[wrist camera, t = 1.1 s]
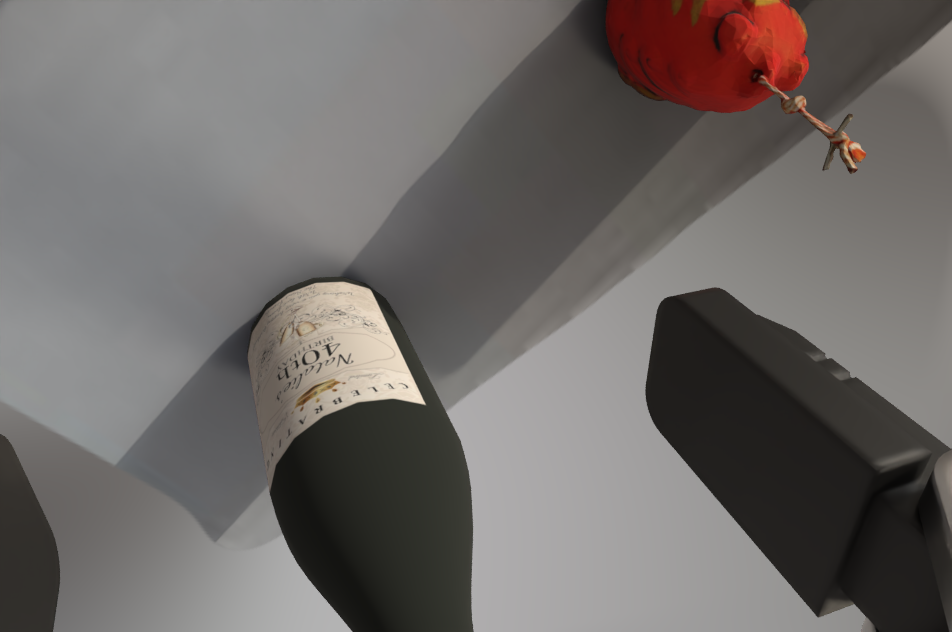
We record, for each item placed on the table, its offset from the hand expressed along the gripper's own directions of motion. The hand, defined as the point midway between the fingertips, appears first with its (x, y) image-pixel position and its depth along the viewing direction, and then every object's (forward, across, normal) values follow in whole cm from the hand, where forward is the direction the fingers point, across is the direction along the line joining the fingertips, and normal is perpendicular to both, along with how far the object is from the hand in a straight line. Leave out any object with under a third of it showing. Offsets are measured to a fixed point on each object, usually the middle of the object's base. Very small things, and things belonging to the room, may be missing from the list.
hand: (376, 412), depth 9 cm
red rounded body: (+27, -20, +1) cm, 33 cm away
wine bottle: (+26, -2, +16) cm, 31 cm away
